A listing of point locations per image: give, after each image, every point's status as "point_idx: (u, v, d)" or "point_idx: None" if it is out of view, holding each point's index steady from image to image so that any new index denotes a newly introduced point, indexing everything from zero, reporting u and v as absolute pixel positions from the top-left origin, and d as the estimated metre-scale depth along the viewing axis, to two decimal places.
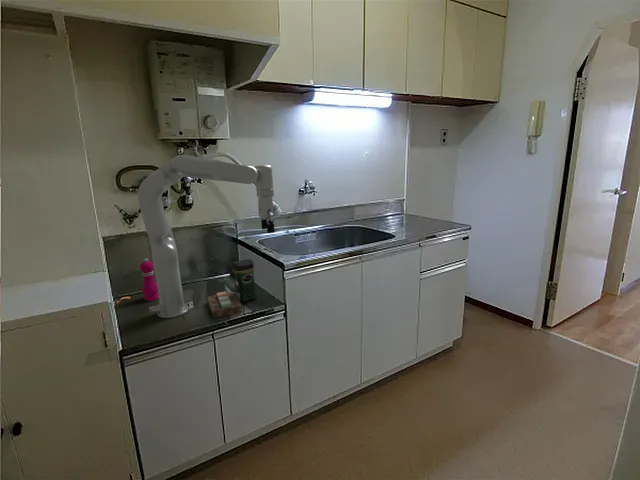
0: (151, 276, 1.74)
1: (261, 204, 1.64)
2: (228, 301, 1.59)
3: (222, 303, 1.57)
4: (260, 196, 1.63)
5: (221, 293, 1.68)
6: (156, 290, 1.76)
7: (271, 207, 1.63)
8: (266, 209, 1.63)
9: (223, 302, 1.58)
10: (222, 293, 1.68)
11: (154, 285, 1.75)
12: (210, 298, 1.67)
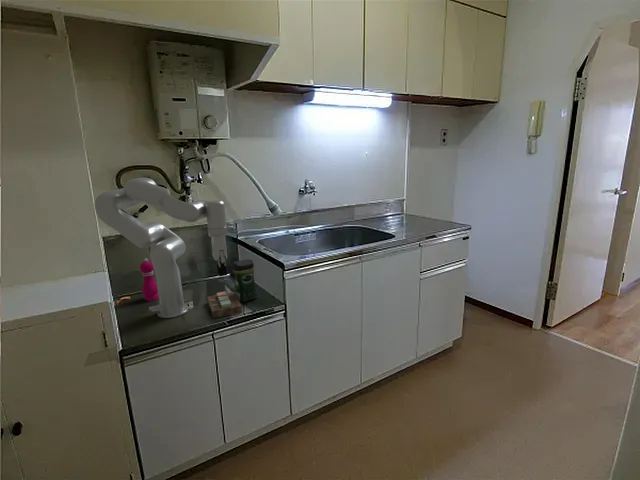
0: (151, 276, 1.74)
1: (212, 244, 1.49)
2: (228, 301, 1.59)
3: (222, 303, 1.57)
4: (211, 235, 1.48)
5: (221, 293, 1.68)
6: (156, 290, 1.76)
7: (223, 247, 1.48)
8: (218, 250, 1.47)
9: (223, 302, 1.58)
10: (222, 293, 1.68)
11: (154, 285, 1.75)
12: (210, 298, 1.67)
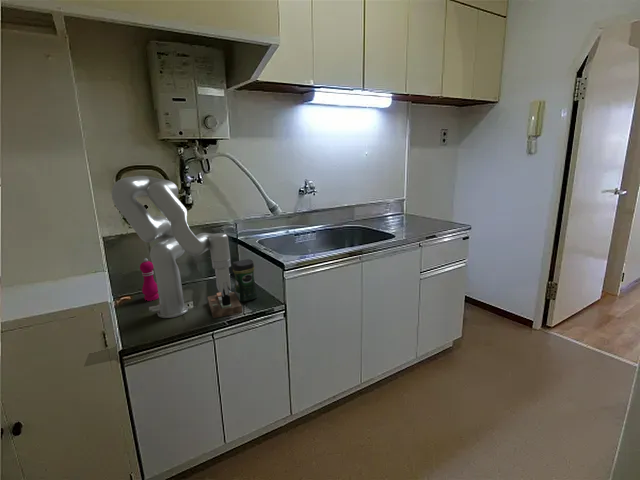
0: (151, 276, 1.74)
1: (217, 276, 1.52)
2: None
3: (222, 305, 1.57)
4: (215, 268, 1.51)
5: None
6: (156, 290, 1.76)
7: (227, 279, 1.51)
8: (222, 282, 1.51)
9: None
10: None
11: (154, 285, 1.75)
12: (210, 298, 1.67)
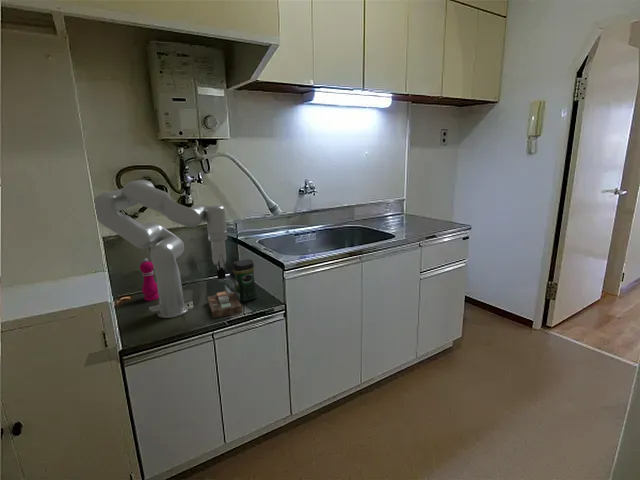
0: (151, 276, 1.74)
1: (212, 248, 1.51)
2: (228, 304, 1.59)
3: (222, 306, 1.57)
4: (211, 240, 1.50)
5: (221, 293, 1.68)
6: (156, 290, 1.76)
7: (223, 252, 1.50)
8: (217, 254, 1.49)
9: (223, 305, 1.58)
10: (222, 293, 1.68)
11: (154, 285, 1.75)
12: (210, 298, 1.67)
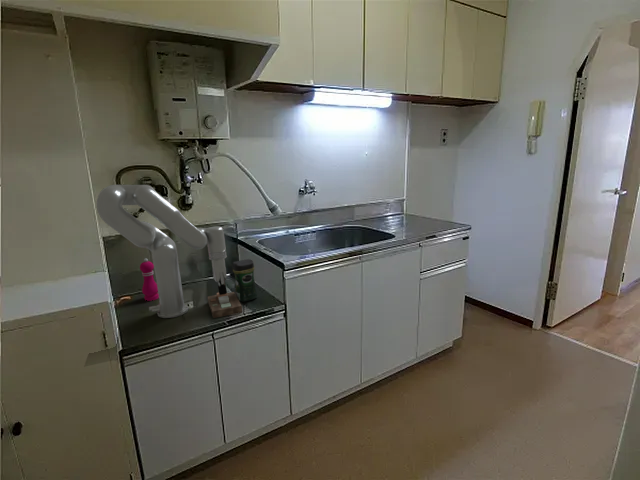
0: (151, 276, 1.74)
1: (213, 266, 1.62)
2: (228, 304, 1.59)
3: (222, 306, 1.57)
4: (212, 259, 1.61)
5: None
6: (156, 290, 1.76)
7: (223, 269, 1.61)
8: (218, 272, 1.60)
9: (223, 305, 1.58)
10: None
11: (154, 285, 1.75)
12: (210, 298, 1.67)
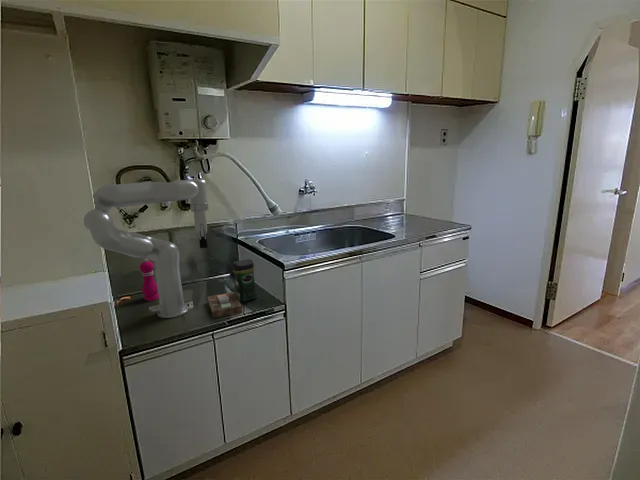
0: (151, 276, 1.74)
1: (194, 218, 1.63)
2: (228, 304, 1.59)
3: (222, 306, 1.57)
4: (193, 210, 1.62)
5: (221, 296, 1.69)
6: (156, 290, 1.76)
7: (203, 222, 1.62)
8: (198, 224, 1.62)
9: (223, 305, 1.58)
10: None
11: (154, 285, 1.75)
12: (210, 298, 1.67)
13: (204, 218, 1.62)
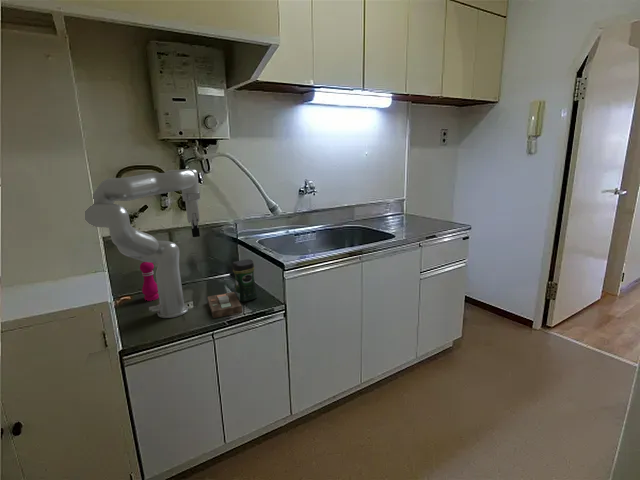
0: (151, 276, 1.74)
1: (186, 208, 1.66)
2: (228, 304, 1.59)
3: (222, 306, 1.57)
4: (185, 200, 1.65)
5: (221, 296, 1.69)
6: (156, 290, 1.76)
7: (196, 211, 1.65)
8: (191, 213, 1.64)
9: (223, 305, 1.58)
10: None
11: (154, 285, 1.75)
12: (210, 298, 1.67)
13: (196, 207, 1.65)
